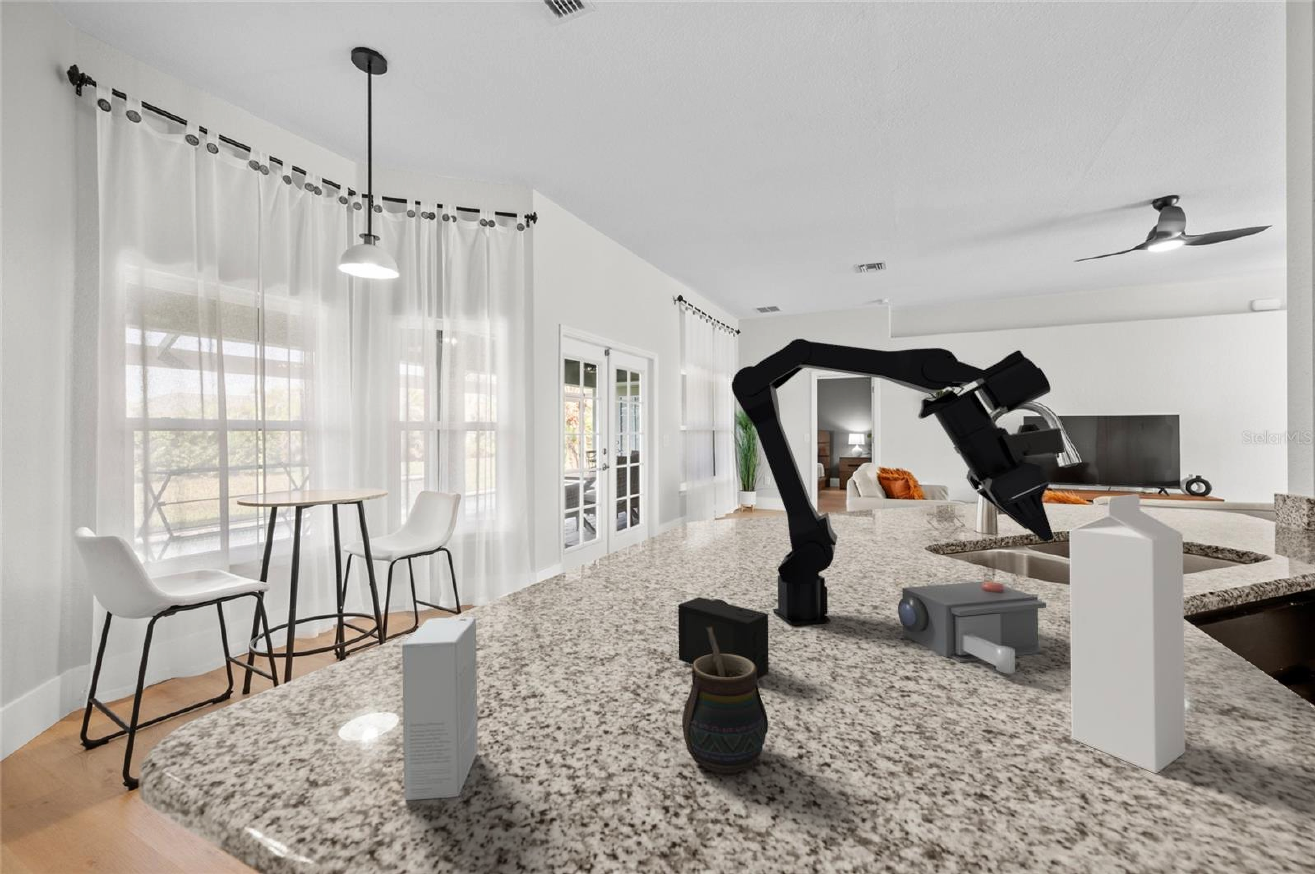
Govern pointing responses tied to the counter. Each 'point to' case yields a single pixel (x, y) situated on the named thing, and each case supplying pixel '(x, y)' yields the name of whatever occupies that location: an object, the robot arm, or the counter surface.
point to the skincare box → (439, 707)
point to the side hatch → (984, 640)
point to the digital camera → (723, 631)
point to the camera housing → (937, 605)
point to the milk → (1128, 636)
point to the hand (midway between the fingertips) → (1038, 533)
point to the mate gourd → (724, 712)
